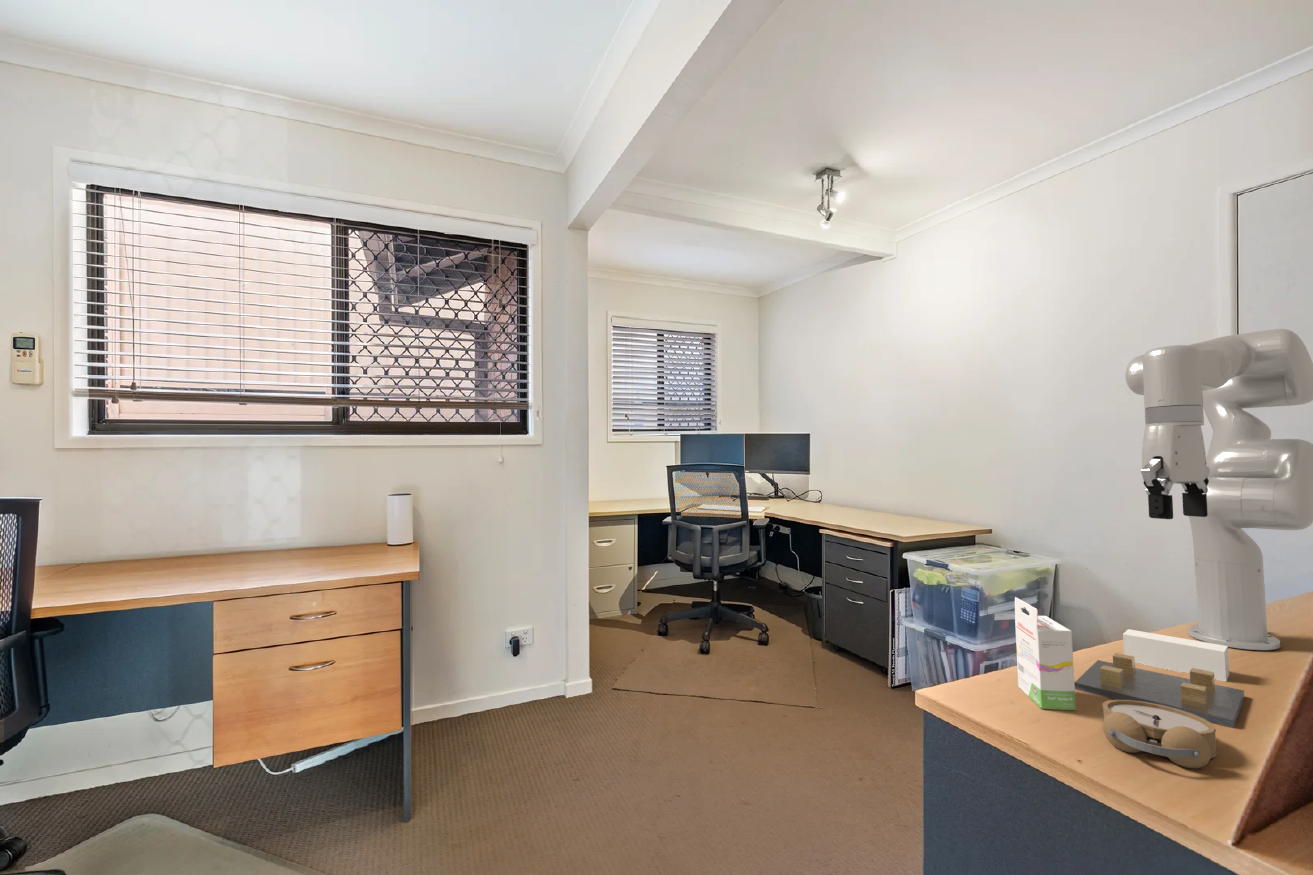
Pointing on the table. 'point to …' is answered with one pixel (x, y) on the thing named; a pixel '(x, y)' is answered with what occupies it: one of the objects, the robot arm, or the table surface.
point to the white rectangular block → (1176, 653)
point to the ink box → (1044, 659)
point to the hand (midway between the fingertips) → (1178, 517)
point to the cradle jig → (1164, 689)
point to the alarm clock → (1159, 731)
